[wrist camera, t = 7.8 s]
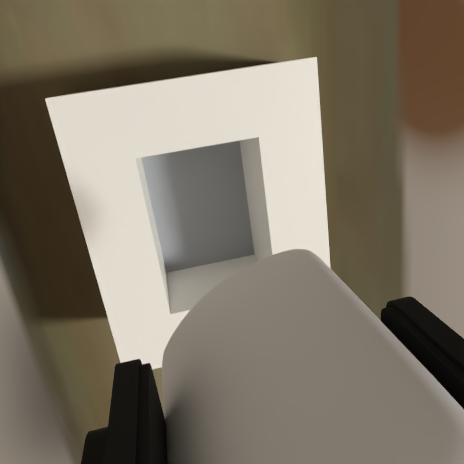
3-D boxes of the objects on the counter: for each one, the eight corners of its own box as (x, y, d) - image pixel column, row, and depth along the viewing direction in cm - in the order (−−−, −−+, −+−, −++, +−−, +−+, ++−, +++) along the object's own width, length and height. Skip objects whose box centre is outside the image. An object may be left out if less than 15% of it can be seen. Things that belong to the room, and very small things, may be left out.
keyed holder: (69, 93, 23) (44, 98, 17) (278, 61, 24) (316, 57, 19) (129, 316, 28) (124, 375, 22) (298, 279, 29) (334, 326, 24)
